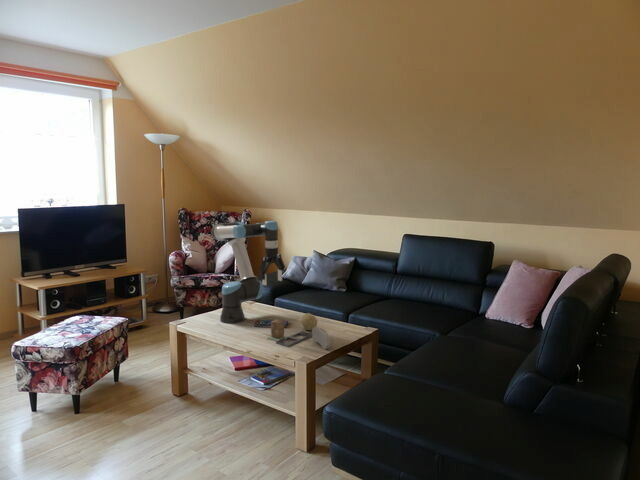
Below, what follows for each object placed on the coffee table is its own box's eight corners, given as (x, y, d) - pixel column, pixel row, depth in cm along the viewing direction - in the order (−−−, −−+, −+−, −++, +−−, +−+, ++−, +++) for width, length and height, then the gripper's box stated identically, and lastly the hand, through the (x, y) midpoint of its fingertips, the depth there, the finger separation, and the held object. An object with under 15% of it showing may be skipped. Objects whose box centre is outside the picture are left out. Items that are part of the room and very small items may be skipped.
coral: (316, 314, 290) (318, 312, 281) (315, 331, 288) (317, 329, 278) (300, 313, 290) (301, 311, 280) (300, 330, 287) (301, 329, 277)
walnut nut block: (271, 337, 269) (271, 321, 268) (277, 334, 273) (277, 319, 272) (278, 339, 266) (277, 323, 265) (284, 336, 270) (283, 321, 269)
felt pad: (267, 338, 269) (267, 337, 269) (277, 334, 275) (277, 333, 275) (278, 341, 264) (278, 340, 264) (287, 337, 270) (287, 336, 270)
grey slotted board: (275, 343, 261) (275, 341, 261) (301, 332, 278) (301, 330, 278) (288, 346, 256) (288, 345, 255) (313, 335, 273) (313, 333, 273)
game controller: (330, 350, 250) (330, 335, 249) (326, 351, 250) (326, 335, 248) (315, 338, 268) (315, 324, 267) (311, 339, 267) (311, 325, 266)
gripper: (261, 250, 271) (262, 287, 274) (290, 245, 291) (290, 279, 294) (251, 249, 276) (252, 285, 279) (280, 244, 296) (281, 278, 298)
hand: (272, 282), depth 286 cm, fingers open, 13 cm apart
